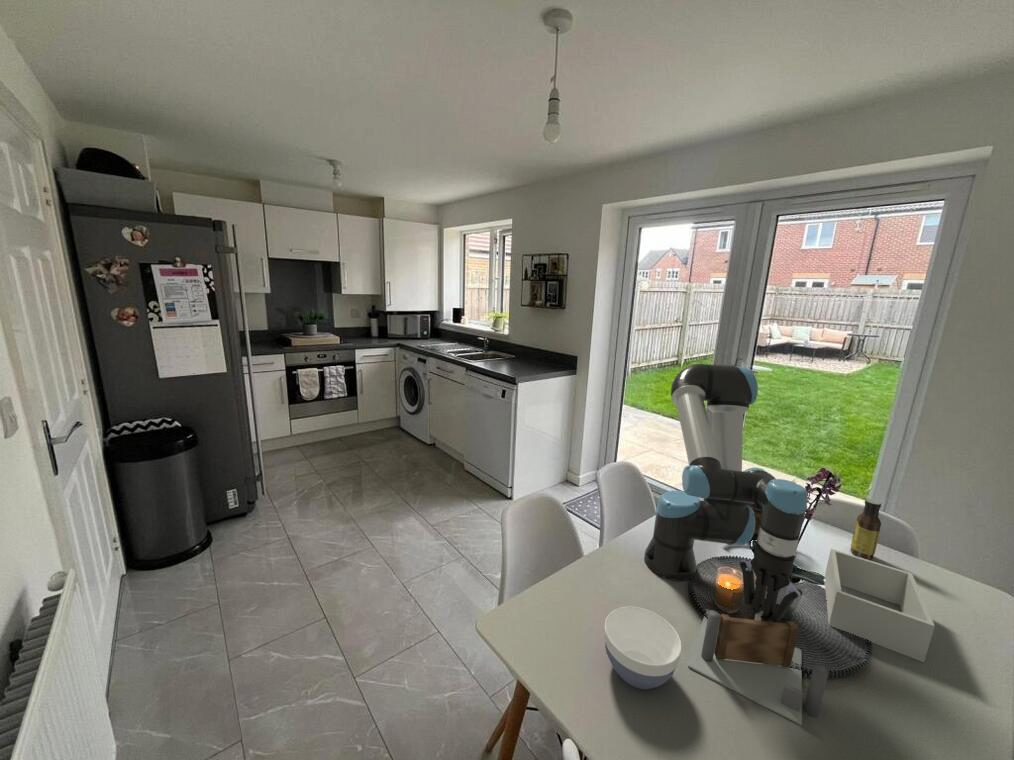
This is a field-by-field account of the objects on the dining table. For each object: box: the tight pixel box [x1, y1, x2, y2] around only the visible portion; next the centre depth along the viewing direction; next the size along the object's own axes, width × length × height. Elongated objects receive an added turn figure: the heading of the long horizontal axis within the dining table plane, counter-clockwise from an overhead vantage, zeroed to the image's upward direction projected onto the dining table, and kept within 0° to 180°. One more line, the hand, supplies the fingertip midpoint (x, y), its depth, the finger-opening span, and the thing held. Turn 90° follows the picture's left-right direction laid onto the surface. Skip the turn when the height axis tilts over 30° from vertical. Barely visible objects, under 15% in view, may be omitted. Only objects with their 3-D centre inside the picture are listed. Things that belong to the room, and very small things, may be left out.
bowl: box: [603, 606, 683, 690], centre depth 90 cm, size 16×16×10 cm
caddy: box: [824, 548, 936, 663], centre depth 111 cm, size 18×24×10 cm
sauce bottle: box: [849, 498, 882, 561], centre depth 138 cm, size 6×6×20 cm
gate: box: [714, 613, 800, 667], centre depth 92 cm, size 16×2×10 cm, turn 85°
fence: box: [687, 608, 829, 726], centre depth 93 cm, size 24×22×12 cm
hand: (756, 637), depth 97 cm, fingers closed
